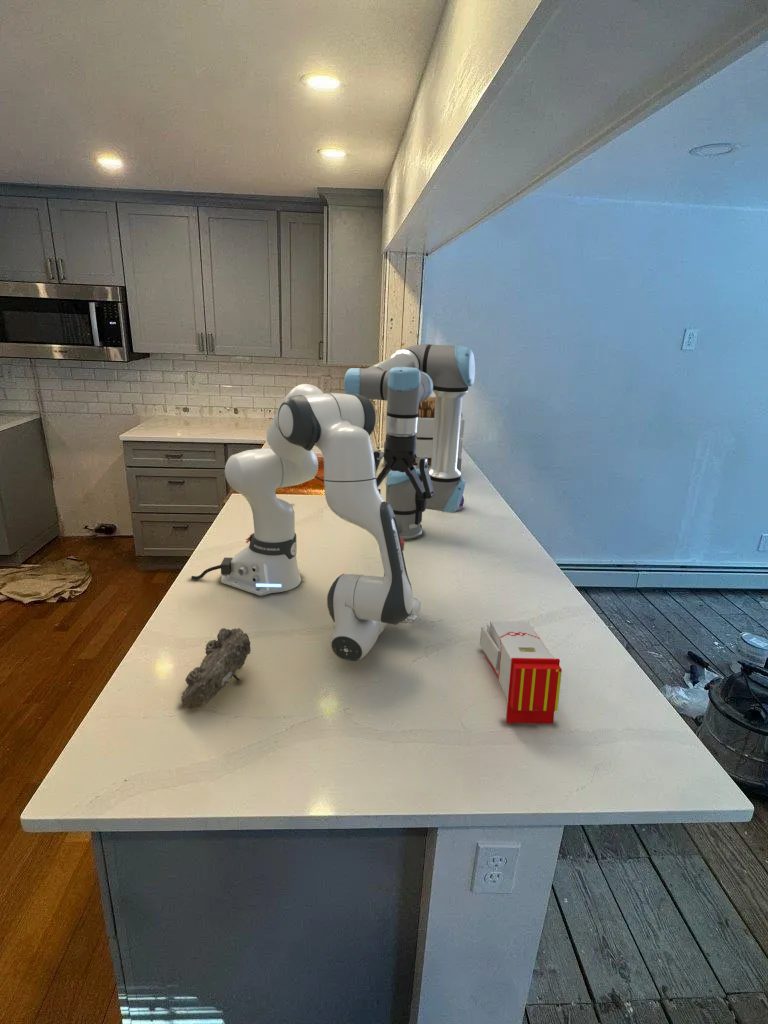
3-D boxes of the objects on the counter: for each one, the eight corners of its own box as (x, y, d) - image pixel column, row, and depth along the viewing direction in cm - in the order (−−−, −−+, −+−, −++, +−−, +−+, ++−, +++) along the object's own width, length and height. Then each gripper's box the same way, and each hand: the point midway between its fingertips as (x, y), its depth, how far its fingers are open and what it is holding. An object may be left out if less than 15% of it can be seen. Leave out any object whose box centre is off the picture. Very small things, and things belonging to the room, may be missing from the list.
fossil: (203, 630, 128) (250, 600, 123) (232, 659, 131) (279, 630, 126) (159, 702, 109) (213, 669, 104) (194, 733, 111) (249, 703, 106)
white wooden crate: (382, 463, 289) (386, 382, 275) (445, 464, 293) (451, 384, 279) (390, 482, 257) (394, 392, 243) (460, 483, 261) (468, 394, 247)
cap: (407, 549, 147) (408, 540, 146) (394, 554, 144) (395, 545, 143) (395, 544, 150) (395, 535, 149) (382, 548, 147) (382, 539, 146)
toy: (526, 605, 135) (570, 665, 105) (521, 658, 137) (563, 730, 108) (475, 604, 134) (506, 664, 105) (472, 657, 137) (500, 729, 108)
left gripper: (413, 611, 130) (428, 585, 143) (331, 594, 136) (352, 571, 148) (412, 635, 132) (426, 607, 145) (331, 617, 138) (351, 592, 150)
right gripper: (452, 437, 135) (445, 522, 143) (365, 425, 144) (362, 506, 152) (442, 442, 129) (435, 532, 136) (351, 430, 138) (349, 514, 145)
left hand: (388, 589), depth 147 cm, fingers open, 8 cm apart
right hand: (396, 518), depth 144 cm, fingers open, 11 cm apart
